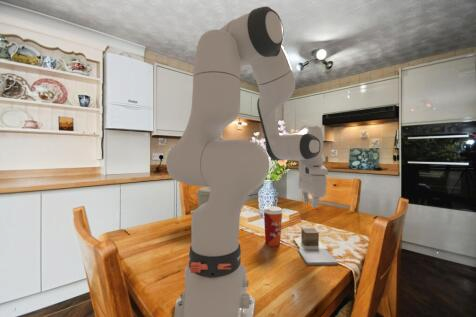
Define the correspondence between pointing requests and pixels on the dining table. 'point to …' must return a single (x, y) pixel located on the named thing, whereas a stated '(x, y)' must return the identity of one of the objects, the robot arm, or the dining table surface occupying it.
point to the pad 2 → (317, 257)
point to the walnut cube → (309, 237)
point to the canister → (203, 195)
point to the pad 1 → (302, 246)
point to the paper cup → (272, 225)
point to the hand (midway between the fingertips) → (310, 204)
